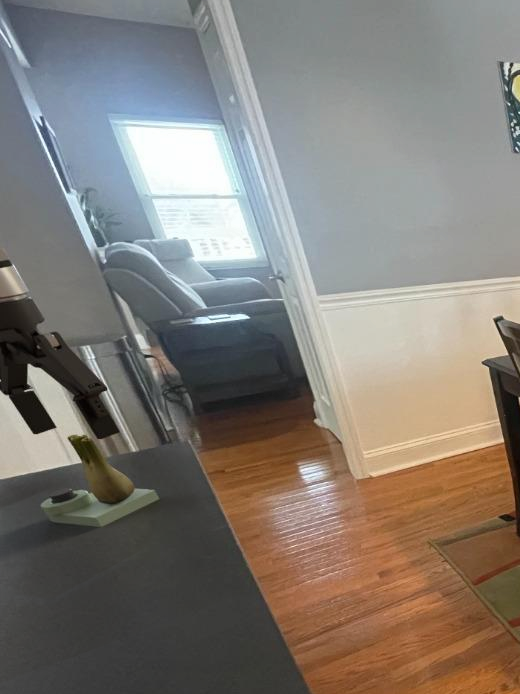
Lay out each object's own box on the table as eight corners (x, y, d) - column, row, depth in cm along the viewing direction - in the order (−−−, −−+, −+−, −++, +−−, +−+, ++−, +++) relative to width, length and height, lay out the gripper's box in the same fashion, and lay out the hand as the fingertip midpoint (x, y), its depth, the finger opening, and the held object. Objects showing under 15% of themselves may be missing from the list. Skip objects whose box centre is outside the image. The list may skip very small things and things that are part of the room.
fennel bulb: (101, 498, 102) (60, 434, 97) (139, 487, 105) (102, 425, 99) (98, 510, 98) (55, 445, 93) (138, 499, 101) (99, 435, 95)
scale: (44, 523, 99) (31, 505, 97) (109, 494, 107) (98, 477, 106) (97, 529, 97) (85, 511, 95) (159, 499, 105) (149, 482, 103)
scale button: (50, 503, 99) (44, 495, 98) (69, 495, 101) (63, 487, 100) (62, 504, 98) (56, 496, 97) (80, 496, 100) (75, 488, 100)
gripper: (-104, 304, 85) (-10, 438, 95) (24, 307, 80) (109, 448, 90) (-34, 293, 92) (47, 419, 102) (89, 295, 87) (161, 427, 97)
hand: (76, 433), depth 96 cm, fingers open, 13 cm apart
